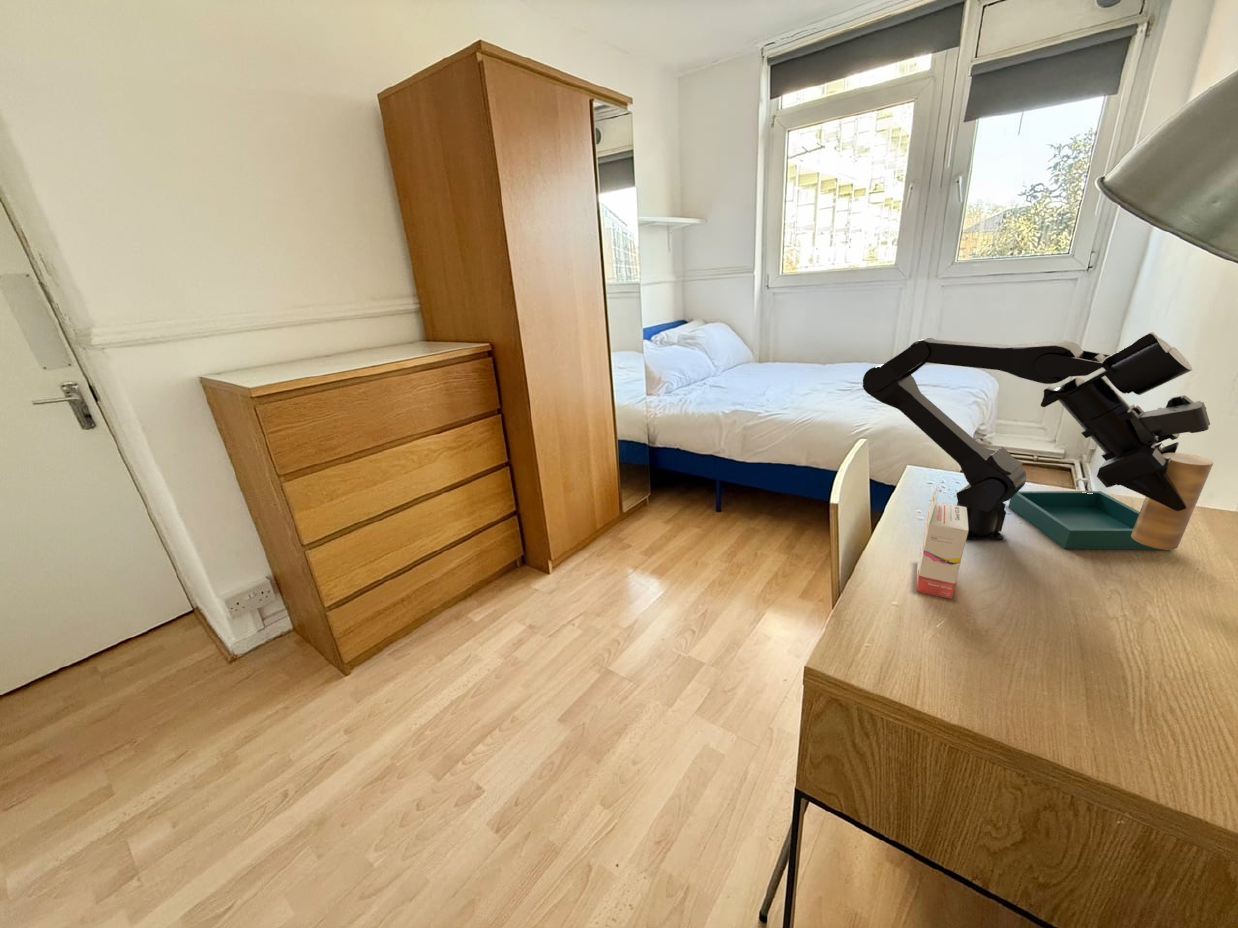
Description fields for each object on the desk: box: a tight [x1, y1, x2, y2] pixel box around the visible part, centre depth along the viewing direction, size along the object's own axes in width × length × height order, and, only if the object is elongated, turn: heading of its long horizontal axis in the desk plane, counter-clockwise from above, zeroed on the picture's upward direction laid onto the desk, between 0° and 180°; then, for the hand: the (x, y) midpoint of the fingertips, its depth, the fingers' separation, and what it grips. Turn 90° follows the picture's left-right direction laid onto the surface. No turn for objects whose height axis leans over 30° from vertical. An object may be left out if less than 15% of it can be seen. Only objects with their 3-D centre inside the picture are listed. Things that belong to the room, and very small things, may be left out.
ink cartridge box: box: [916, 485, 968, 600], centre depth 74 cm, size 9×5×15 cm, turn 149°
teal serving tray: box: [1007, 490, 1159, 550], centre depth 89 cm, size 16×16×4 cm
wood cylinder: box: [1131, 452, 1214, 551], centre depth 69 cm, size 5×5×13 cm
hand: (1184, 503), depth 68 cm, fingers closed on wood cylinder, 5 cm apart
